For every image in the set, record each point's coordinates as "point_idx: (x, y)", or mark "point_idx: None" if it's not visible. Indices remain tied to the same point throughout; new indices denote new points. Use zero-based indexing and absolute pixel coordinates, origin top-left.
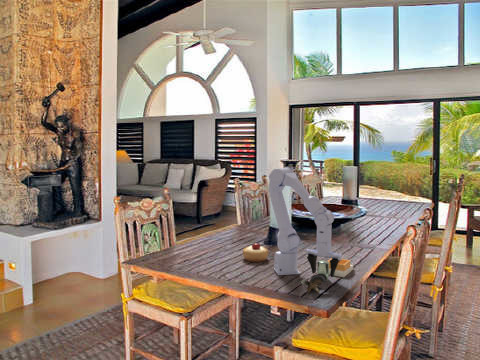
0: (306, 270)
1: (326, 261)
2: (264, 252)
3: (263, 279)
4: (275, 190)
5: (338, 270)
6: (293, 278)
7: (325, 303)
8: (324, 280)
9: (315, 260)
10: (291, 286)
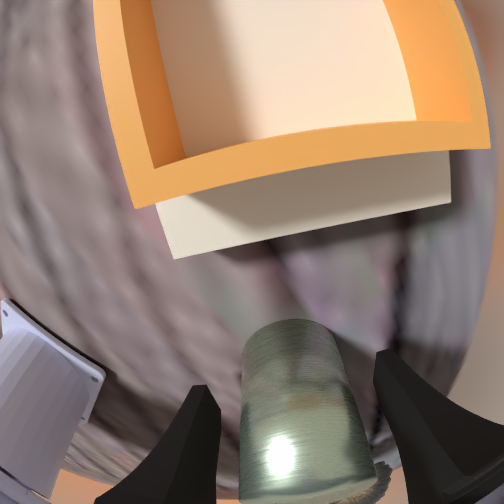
0: (54, 274)
1: (331, 481)
2: None
3: (109, 455)
4: None
5: (377, 168)
6: (150, 424)
7: (398, 458)
8: (379, 469)
9: (188, 493)
10: (228, 468)
